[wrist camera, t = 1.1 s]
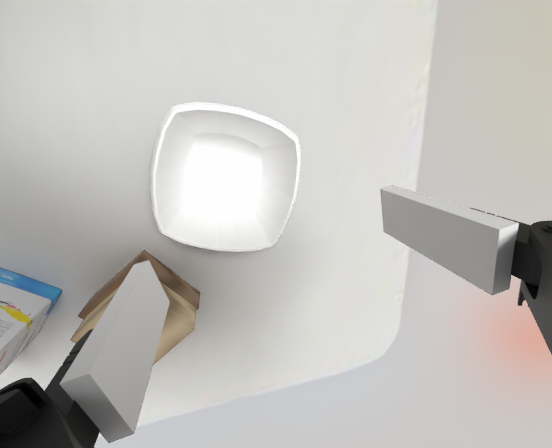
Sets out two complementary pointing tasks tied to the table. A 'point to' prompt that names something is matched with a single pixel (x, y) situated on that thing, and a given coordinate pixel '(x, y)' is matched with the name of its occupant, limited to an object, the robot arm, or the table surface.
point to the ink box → (21, 312)
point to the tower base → (163, 275)
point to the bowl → (223, 177)
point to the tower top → (175, 324)
